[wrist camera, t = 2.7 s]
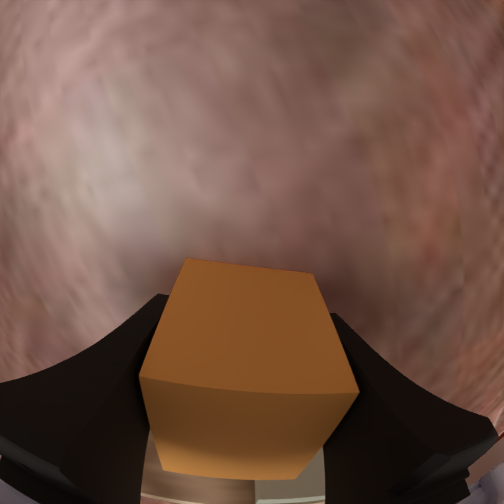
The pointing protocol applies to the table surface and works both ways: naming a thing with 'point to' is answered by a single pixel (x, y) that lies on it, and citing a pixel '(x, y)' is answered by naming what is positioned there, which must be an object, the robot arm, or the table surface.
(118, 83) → the table surface
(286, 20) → the table surface
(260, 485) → the sliding gate
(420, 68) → the table surface
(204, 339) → the block
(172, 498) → the wooden track base
